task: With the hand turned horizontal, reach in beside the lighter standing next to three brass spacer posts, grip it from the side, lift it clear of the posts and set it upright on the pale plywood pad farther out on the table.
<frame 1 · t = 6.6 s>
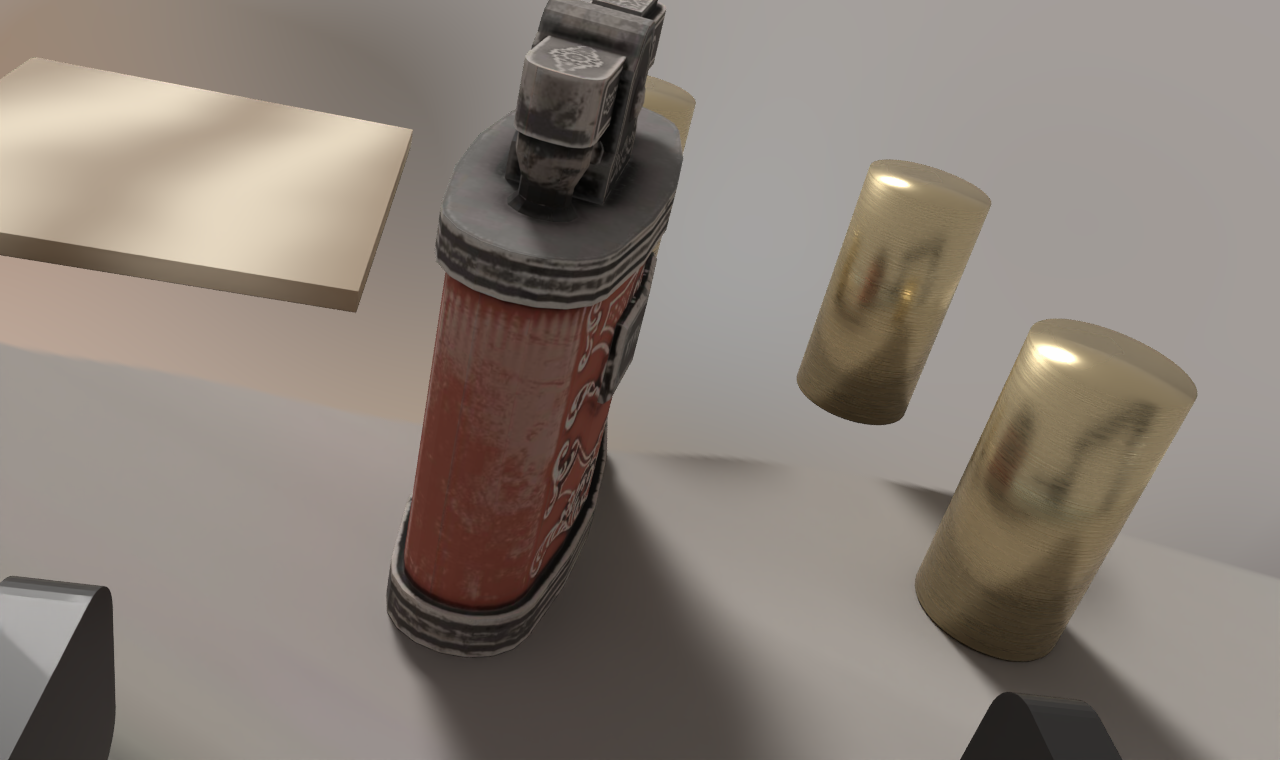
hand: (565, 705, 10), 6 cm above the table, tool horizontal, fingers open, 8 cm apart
lighter: (504, 520, 22), on the table
spacer posts: (755, 417, 27), on the table
pad: (174, 178, 31), on the table
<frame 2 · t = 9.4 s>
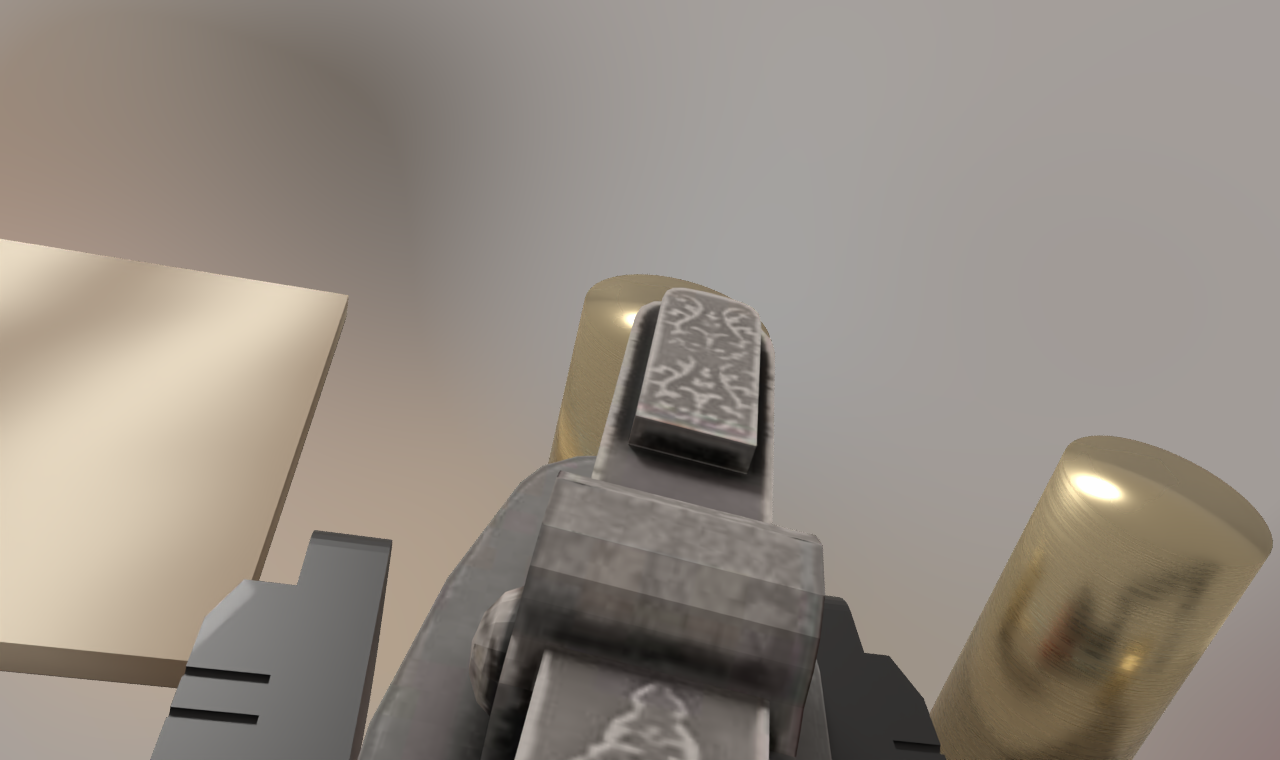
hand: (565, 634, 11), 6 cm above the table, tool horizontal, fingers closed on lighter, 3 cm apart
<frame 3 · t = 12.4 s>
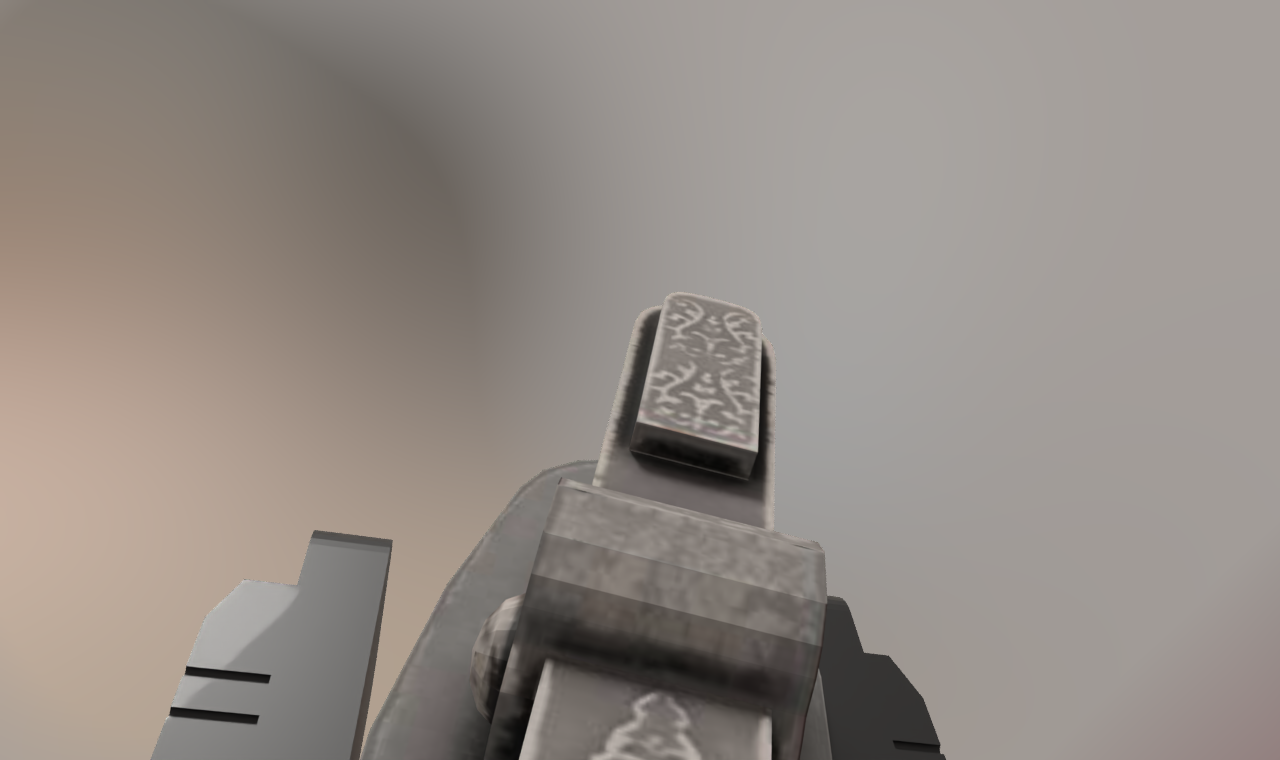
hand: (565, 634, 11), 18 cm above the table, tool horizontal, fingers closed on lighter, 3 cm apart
when the fingers open (7 cm above the table, at t = 15.2 s): lighter stays where it is, resting on pad.
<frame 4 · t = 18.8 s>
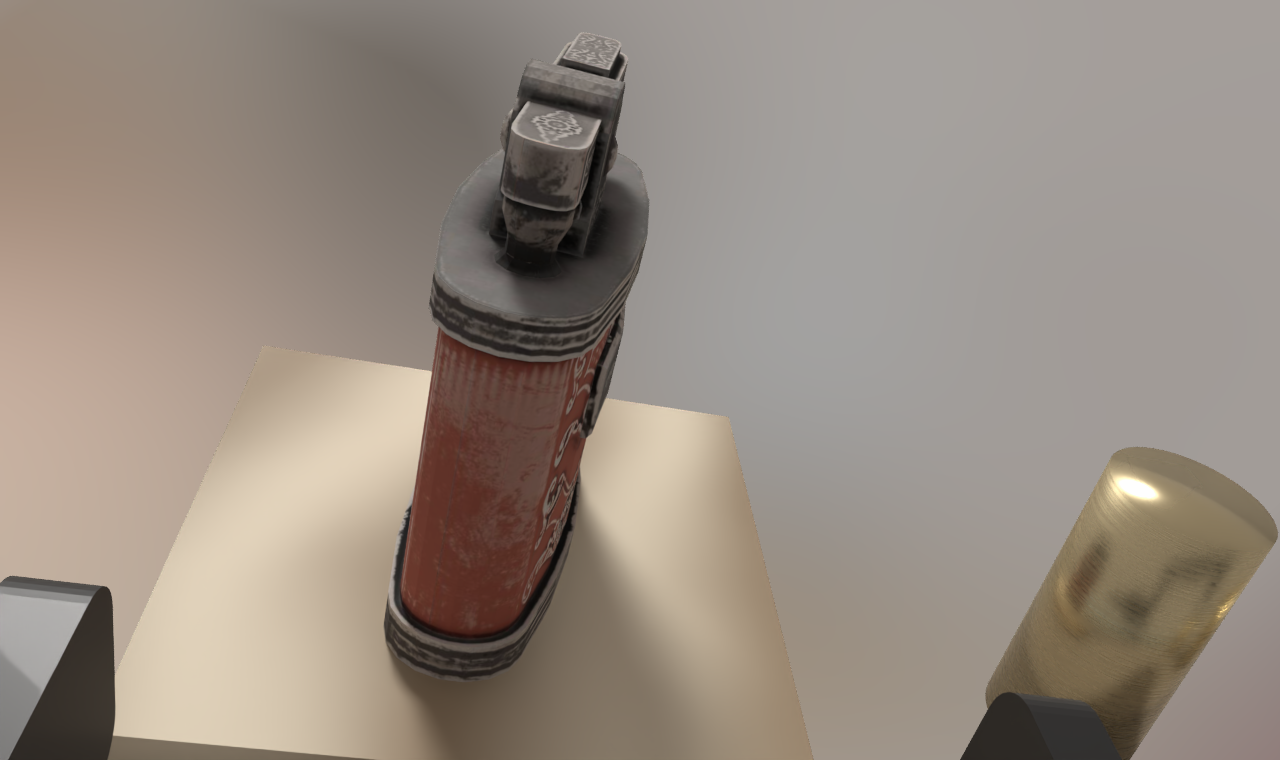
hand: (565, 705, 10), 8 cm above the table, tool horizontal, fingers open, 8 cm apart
lighter: (486, 545, 23), resting on pad
pad: (489, 554, 23), on the table
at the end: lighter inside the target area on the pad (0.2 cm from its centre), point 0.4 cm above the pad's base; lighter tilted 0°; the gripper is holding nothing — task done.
